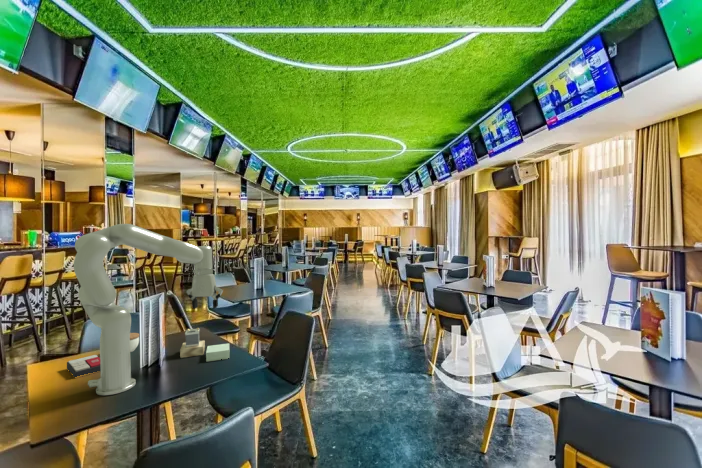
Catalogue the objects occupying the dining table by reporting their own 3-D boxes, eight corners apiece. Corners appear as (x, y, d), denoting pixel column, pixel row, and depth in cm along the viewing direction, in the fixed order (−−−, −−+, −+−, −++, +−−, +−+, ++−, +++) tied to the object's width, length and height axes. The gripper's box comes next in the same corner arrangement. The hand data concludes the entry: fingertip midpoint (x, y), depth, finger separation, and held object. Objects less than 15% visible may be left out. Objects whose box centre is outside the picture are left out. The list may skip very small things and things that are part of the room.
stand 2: (206, 361, 154) (206, 353, 154) (207, 354, 163) (207, 346, 163) (229, 358, 157) (229, 349, 157) (229, 351, 167) (229, 343, 167)
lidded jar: (144, 348, 173) (144, 330, 173) (124, 356, 163) (123, 337, 163) (130, 346, 177) (129, 328, 177) (109, 353, 167) (108, 334, 167)
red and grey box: (74, 370, 139) (66, 360, 148) (74, 380, 139) (66, 369, 148) (106, 362, 147) (96, 353, 157) (106, 371, 147) (96, 362, 157)
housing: (185, 347, 162) (185, 332, 162) (187, 343, 168) (186, 328, 167) (198, 345, 164) (198, 330, 164) (200, 342, 170) (199, 327, 169)
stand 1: (180, 357, 159) (180, 349, 159) (183, 350, 169) (183, 342, 169) (203, 354, 163) (203, 346, 163) (204, 348, 172) (204, 340, 172)
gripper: (181, 273, 155) (183, 310, 156) (218, 272, 155) (219, 309, 155) (190, 271, 163) (191, 306, 163) (225, 270, 162) (226, 305, 163)
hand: (205, 307), depth 159 cm, fingers open, 9 cm apart
